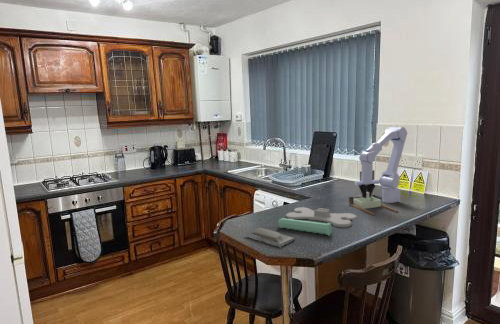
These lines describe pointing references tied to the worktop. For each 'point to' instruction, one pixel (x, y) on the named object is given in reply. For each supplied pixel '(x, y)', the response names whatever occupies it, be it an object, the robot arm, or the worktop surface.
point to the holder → (322, 216)
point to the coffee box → (365, 185)
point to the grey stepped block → (272, 236)
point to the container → (306, 226)
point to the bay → (365, 209)
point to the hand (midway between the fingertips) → (366, 197)
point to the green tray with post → (367, 202)
